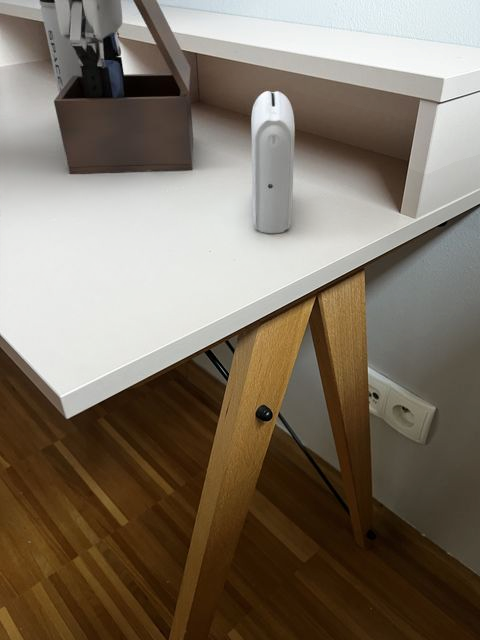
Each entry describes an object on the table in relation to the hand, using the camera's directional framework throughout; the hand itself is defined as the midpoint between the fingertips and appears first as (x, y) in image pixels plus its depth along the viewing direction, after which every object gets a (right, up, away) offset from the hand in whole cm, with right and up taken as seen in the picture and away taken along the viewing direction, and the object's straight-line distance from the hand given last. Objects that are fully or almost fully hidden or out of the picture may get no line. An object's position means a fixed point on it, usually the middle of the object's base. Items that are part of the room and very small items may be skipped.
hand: (107, 94), depth 71 cm
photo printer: (+21, -18, -10) cm, 29 cm away
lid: (+7, +7, -5) cm, 11 cm away
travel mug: (-7, +2, +15) cm, 17 cm away
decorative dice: (0, 0, 0) cm, 1 cm away
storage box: (+3, -6, +5) cm, 8 cm away
